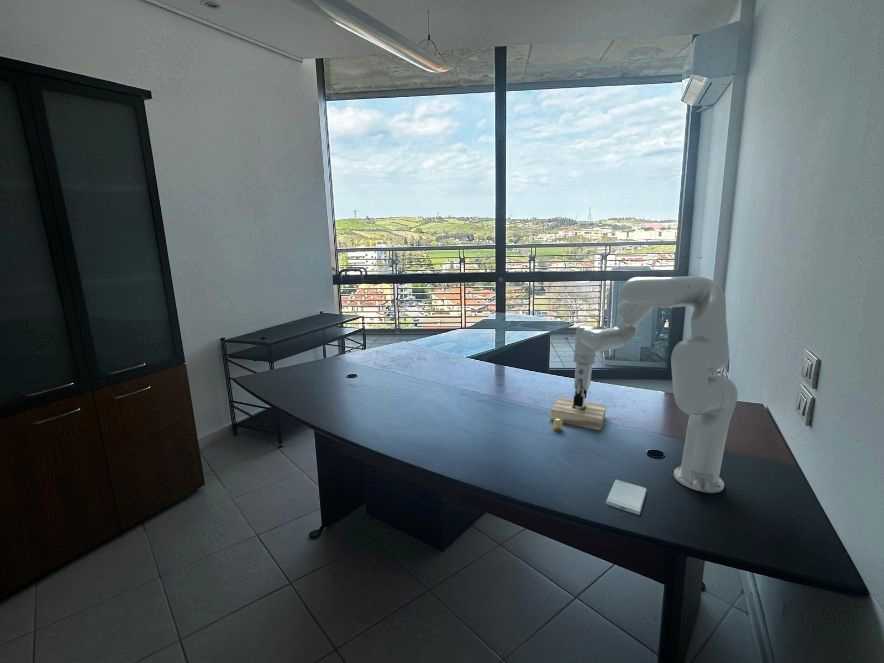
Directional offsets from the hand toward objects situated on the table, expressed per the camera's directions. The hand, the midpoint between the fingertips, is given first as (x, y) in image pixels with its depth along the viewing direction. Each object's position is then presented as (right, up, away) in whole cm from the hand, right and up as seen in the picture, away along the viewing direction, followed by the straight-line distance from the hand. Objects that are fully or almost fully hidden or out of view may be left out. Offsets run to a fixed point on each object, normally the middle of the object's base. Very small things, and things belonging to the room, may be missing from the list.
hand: (579, 401), depth 166 cm
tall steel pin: (0, -7, +1) cm, 7 cm away
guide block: (0, -7, +1) cm, 7 cm away
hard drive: (-3, -19, -49) cm, 52 cm away
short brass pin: (-11, -9, -9) cm, 16 cm away
